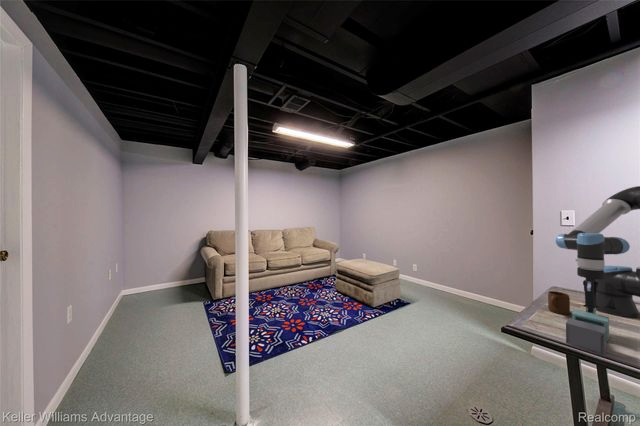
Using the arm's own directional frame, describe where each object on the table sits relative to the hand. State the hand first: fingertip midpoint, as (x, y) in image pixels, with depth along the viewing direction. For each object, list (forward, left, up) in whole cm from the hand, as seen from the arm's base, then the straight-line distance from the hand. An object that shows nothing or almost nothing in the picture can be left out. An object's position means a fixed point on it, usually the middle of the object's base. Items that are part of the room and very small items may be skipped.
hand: (591, 322), depth 97 cm
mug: (+1, -16, -3) cm, 17 cm away
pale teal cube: (+4, +4, -3) cm, 7 cm away
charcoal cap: (+13, +14, -3) cm, 20 cm away
